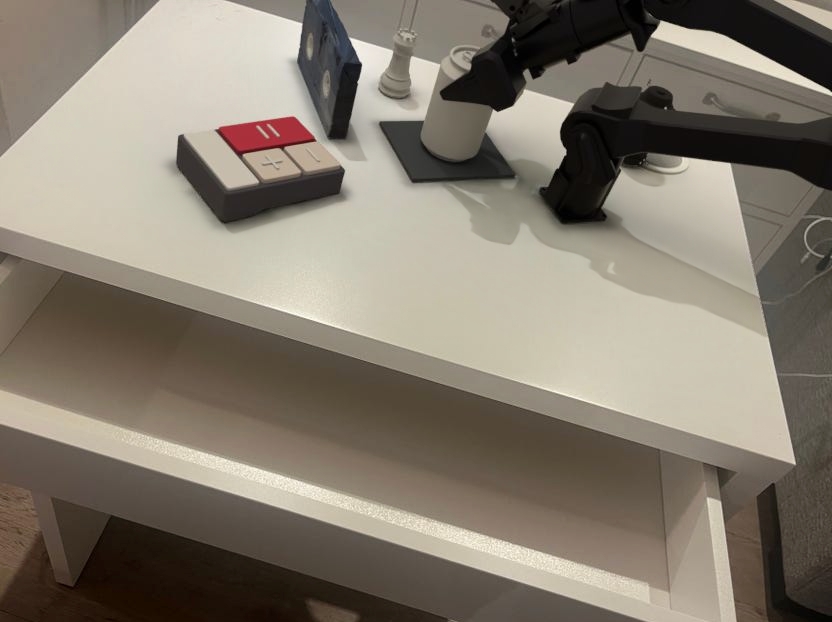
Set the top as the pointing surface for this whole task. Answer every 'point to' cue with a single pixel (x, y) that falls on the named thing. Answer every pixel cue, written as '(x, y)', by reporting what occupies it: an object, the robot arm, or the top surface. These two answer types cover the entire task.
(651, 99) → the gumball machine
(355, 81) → the vhs cassette tape
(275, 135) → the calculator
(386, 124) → the mat
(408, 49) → the rook chess piece
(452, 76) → the can
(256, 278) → the top surface
